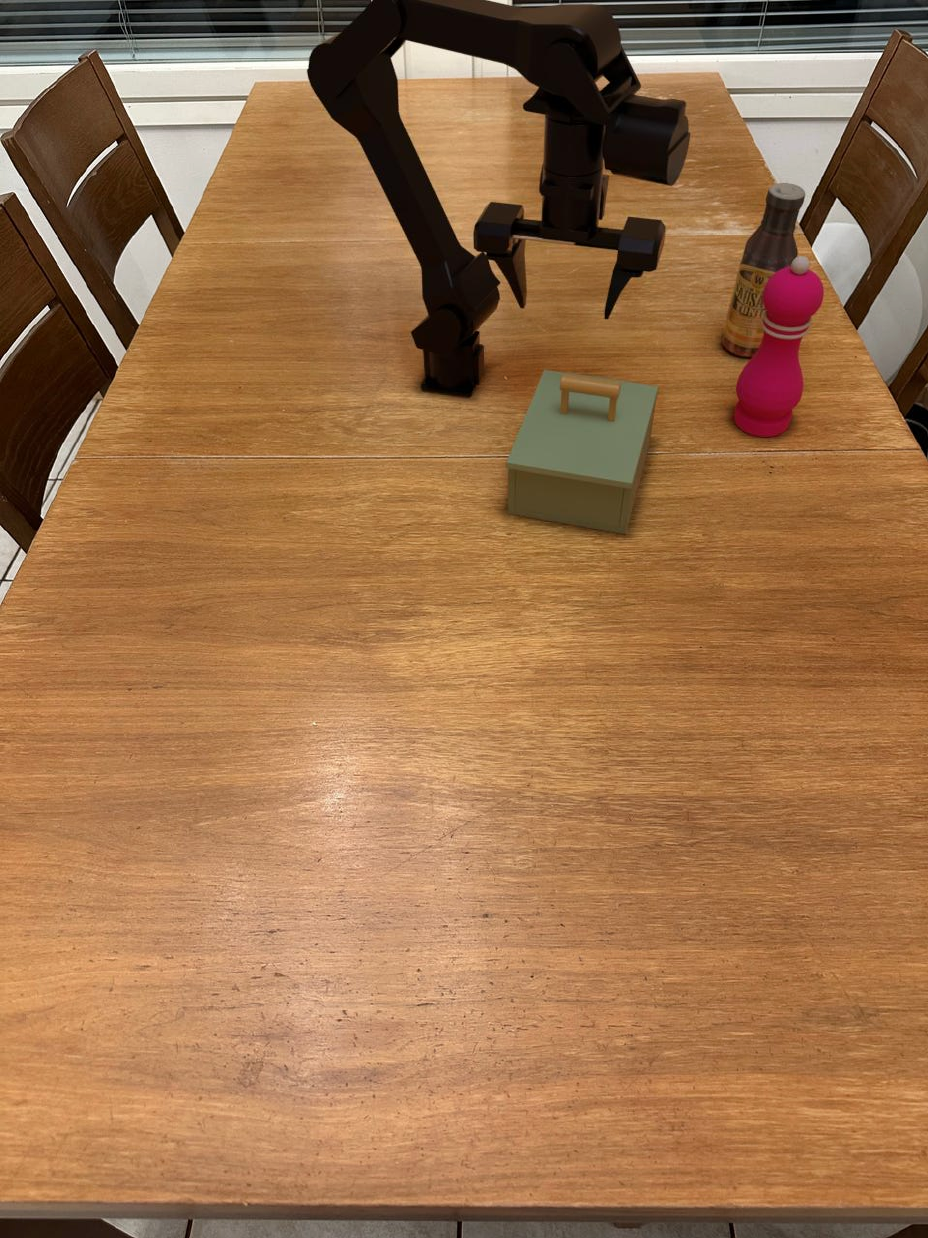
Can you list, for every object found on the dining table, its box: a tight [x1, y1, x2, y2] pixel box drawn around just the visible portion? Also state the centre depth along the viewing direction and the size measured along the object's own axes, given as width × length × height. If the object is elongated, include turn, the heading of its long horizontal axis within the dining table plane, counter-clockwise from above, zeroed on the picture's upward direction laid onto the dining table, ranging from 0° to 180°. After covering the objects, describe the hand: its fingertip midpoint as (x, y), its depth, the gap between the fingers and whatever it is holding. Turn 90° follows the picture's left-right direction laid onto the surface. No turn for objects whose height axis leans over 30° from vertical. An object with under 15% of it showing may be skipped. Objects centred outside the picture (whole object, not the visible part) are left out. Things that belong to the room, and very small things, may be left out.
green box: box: [507, 395, 658, 535], centre depth 101 cm, size 16×13×7 cm
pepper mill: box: [733, 255, 825, 438], centre depth 102 cm, size 7×7×20 cm
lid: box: [505, 369, 659, 489], centre depth 96 cm, size 16×13×5 cm
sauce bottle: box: [721, 182, 806, 358], centre depth 112 cm, size 6×6×20 cm
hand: (564, 311), depth 102 cm, fingers open, 9 cm apart
